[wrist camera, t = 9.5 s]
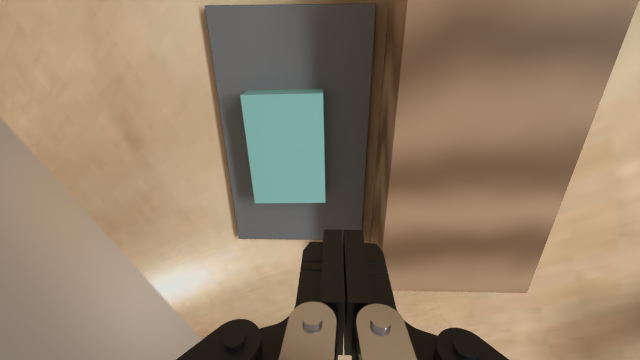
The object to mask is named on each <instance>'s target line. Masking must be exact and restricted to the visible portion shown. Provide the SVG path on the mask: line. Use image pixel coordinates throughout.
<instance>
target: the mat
mask: <svg viewBox="0 0 640 360" xmlns="http://www.w3.org/2000/svg"><path fill="white" fill-rule="evenodd" d="M375 7H376V4H293V5H205V11H206V18H207V25H208V32H209V39H210V45H211V52H212V59H213V66H214V73H215V80H216V86H217V93H218V100H219V107H220V114H221V120H222V127H223V134H224V141H225V148H226V155H227V161H228V168H229V175H230V182H231V189H232V195H233V202H234V209H235V216H236V223H237V230H238V236H239V239H295V240H323V235H324V229H335V230H342V237H343V230H362V215H363V199H364V183H365V167H366V151H367V135H368V119H369V103H370V87H371V71H372V55H373V39H374V23H375ZM301 89H324V135H325V180H326V200H325V203H255V200H254V193H253V185H252V178H251V171H250V163H249V156H248V149H247V141H246V134H245V127H244V120H243V112H242V105H241V98H240V95H241V94H243V93H244V92H246V91H259V90H301Z"/></svg>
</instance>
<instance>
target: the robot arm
mask: <svg viewBox="0 0 640 360" xmlns="http://www.w3.org/2000/svg"><path fill="white" fill-rule="evenodd" d="M343 336H344V351H345V355H352V360H508V359H507V358H506V357H504V356H503V355H502V354H501V353H499V352H498V351H497V350H495V349H494V348H493V347H491V346H490V345H489V344H487V343H486V342H485V341H483V340H482V339H481V338H480V337H478V336H477V335H475V334H473V333H472V332H470V331H467V330H464V329H461V328H448V329H445V330H443V331H442V332H441V333H440V334H439V335H438V336H437V335H433V334H430V333H427V332H424V331H421V330H419V329H416V328H414V327H412V326H411V325H409V324H408V323H407V322H405V321H404V320H403V318H402V316H401V315H400V314H399V313H398V311H397V309H396V306H395V301H394V297H393V293H392V288H391V284H390V279H389V275H388V270H387V266H386V262H385V257H384V253H383V251H382V250H381V249H380V248H379V247H378V245H377V244H374V243H364V238H363V231H362V230H343V237H342V230H335V229H324V235H323V242H310V243H309V244H308V245H307V246H306V248H305V249H304V250H303V257H302V264H301V271H300V278H299V285H298V292H297V299H296V305H295V308H294V310H293V311H292V312H291V314H290V316H289V317H287V318H286V319H285V320H284V321H282V322H280V323H278V324H275V325H272V326H268V327H264V328H261V329H259V328H258V327H257V326H256V324H254V323H253V322H251V321H249V320H245V319H236V320H232V321H229V322H227V323H225V324H223V325H221V326H220V327H219V328H217V329H216V330H215V331H213V332H212V333H211V334H209V335H208V336H207V337H206V338H204V339H203V340H202V341H200V342H199V343H198V344H196V345H195V346H194V347H192V348H191V349H190V350H188V351H187V352H186V353H184V354H183V355H182V356H181V357H179V358H178V359H177V360H338V355H343Z"/></svg>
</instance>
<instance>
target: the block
mask: <svg viewBox="0 0 640 360" xmlns="http://www.w3.org/2000/svg"><path fill="white" fill-rule="evenodd" d="M240 98H241V105H242V112H243V120H244V127H245V134H246V141H247V149H248V156H249V163H250V171H251V178H252V185H253V193H254V200H255V203H325V200H326V180H325V135H324V89H301V90H259V91H246V92H244V93H243V94H241V95H240Z"/></svg>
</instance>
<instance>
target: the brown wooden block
mask: <svg viewBox="0 0 640 360" xmlns="http://www.w3.org/2000/svg"><path fill="white" fill-rule="evenodd" d="M638 1H639V0H389V8H388V20H387V33H386V46H385V59H384V71H383V84H382V97H381V109H380V122H379V135H378V147H377V160H376V173H375V186H374V198H373V211H372V224H371V236H370V243H374V244H377V245H378V247H379V248H380V249H381V250H382V251H383V253H384V257H385V262H386V266H387V270H388V275H389V279H390V284H391V288H392V290H394V291H446V292H498V293H527V291H528V289H529V286H530V283H531V281H532V278H533V275H534V273H535V270H536V268H537V265H538V262H539V260H540V257H541V255H542V252H543V249H544V247H545V244H546V241H547V239H548V236H549V234H550V231H551V228H552V226H553V223H554V221H555V218H556V215H557V213H558V210H559V208H560V205H561V202H562V200H563V197H564V194H565V192H566V189H567V187H568V184H569V181H570V179H571V176H572V174H573V171H574V168H575V166H576V163H577V160H578V158H579V155H580V153H581V150H582V147H583V145H584V142H585V140H586V137H587V134H588V132H589V129H590V126H591V124H592V121H593V119H594V116H595V113H596V111H597V108H598V106H599V103H600V100H601V98H602V95H603V92H604V90H605V87H606V85H607V82H608V79H609V77H610V74H611V72H612V69H613V66H614V64H615V61H616V59H617V56H618V53H619V51H620V48H621V45H622V43H623V40H624V38H625V35H626V32H627V30H628V27H629V25H630V22H631V19H632V17H633V14H634V11H635V9H636V6H637V4H638Z"/></svg>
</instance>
